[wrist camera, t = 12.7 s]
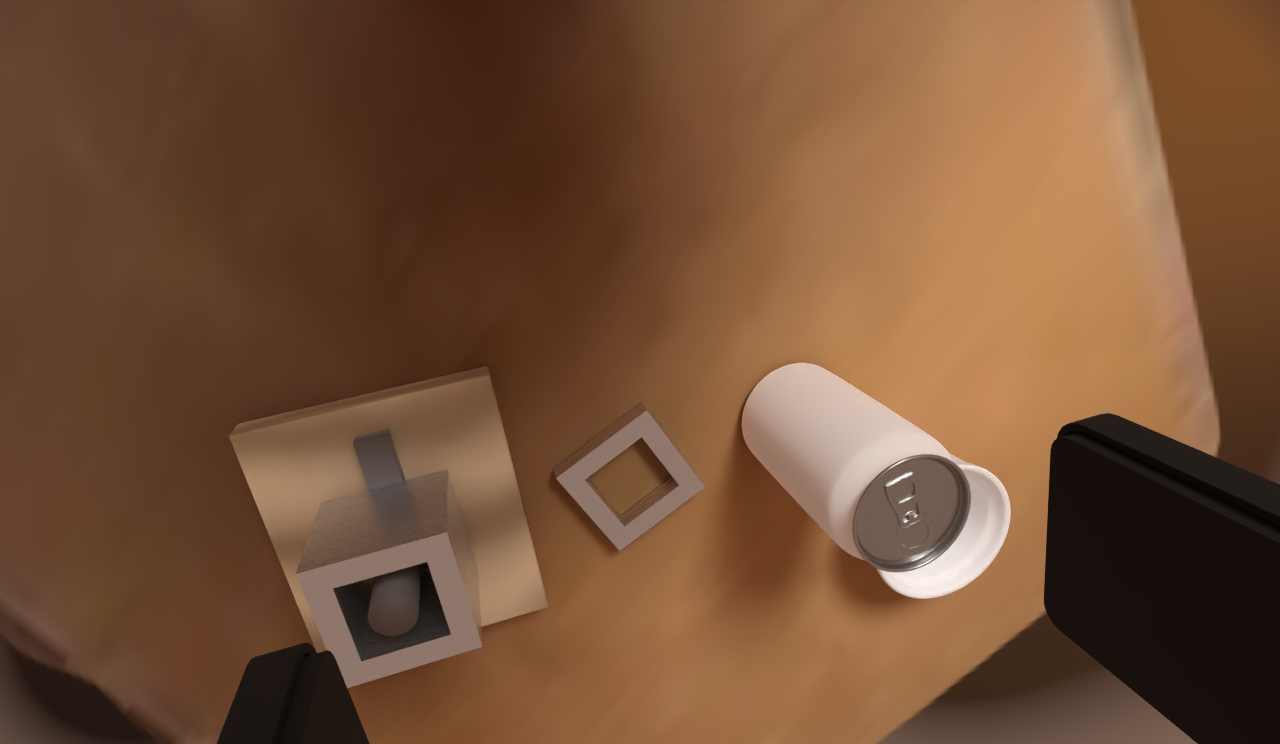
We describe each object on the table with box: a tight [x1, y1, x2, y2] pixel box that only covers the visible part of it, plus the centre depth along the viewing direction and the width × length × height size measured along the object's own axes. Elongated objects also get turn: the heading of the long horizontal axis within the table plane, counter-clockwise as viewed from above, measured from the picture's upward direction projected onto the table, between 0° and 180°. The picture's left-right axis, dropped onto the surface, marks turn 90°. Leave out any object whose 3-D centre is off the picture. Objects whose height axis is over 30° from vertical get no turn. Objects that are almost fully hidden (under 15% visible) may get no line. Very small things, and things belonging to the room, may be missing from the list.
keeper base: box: [229, 366, 548, 653], centre depth 34 cm, size 14×12×8 cm
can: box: [742, 363, 971, 572], centre depth 36 cm, size 6×6×12 cm
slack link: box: [553, 402, 705, 551], centre depth 40 cm, size 6×6×1 cm
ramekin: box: [876, 453, 1011, 599], centre depth 44 cm, size 9×9×4 cm
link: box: [296, 469, 483, 688], centre depth 33 cm, size 6×6×6 cm
